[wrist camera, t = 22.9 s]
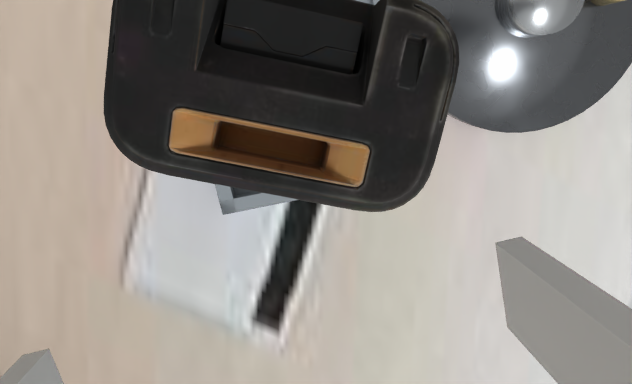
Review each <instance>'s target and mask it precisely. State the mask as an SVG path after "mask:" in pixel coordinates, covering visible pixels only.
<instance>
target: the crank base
mask: <svg viewBox="0 0 632 384" xmlns="http://www.w3.org/2000/svg"><path fill="white" fill-rule="evenodd" d="M419 1H422V2H424V3H426V4H428V5H430V6H432V7H434V8H435V9H436V10H437V11H439V12H440V13H441V14H442V15H443V16H444V17H445V19H446V20H447V21H448V22H449V23H450V25H451V27H452V29H453V31H454V33H455V35H456V38H457V42H458V45H459V67H458V73H457V78H456V83H455V87H454V91H453V95H452V98H451V102H450V106H449V110H448V113H447V114H448V115H450V116H452V117H453V118H455V119H457V120H459V121H462V122H464V123H466V124H469V125H472V126H476V127H480V128H483V129H487V130H491V131H499V132H529V131H536V130H541V129H544V128H548V127H552V126H555V125H557V124H560V123H562V122H565V121H567V120H569V119H571V118H573V117H575V116H576V115H578V114H580V113H582V112H584V111H585V110H586V109H588V108H589V107H591V106H592V105H593V104H595V103H596V102H597V101H598V100H600V99H601V98H602V97H603V96H604V95H605V94H606V93H607V92H608V91H610V89H611V88H612V87H613V86H614V85H615V84H616V83H617V82H618V80H619V79H620V78H621V77H622V76H623V74H624V73H625V71H626V70H627V69H628V67H629V66H630V64H631V63H632V0H585V1H584V4H583V7H582V9H581V11H580V13H579V15H578V16H577V17H576V19H575V20H574V21H573V22H572V23H571V24H570V25H569V26H567V27H566V28H564V29H563V30H561V31H558V32H556V33H552V34H547V35H542V36H536V37H531V38H522V37H517V36H515V35H512V34H511V33H509V32H508V31H507V30H506V29H505V28H504V27H503V26H502V24H501V23H500V21H499V18H498V15H497V10H496V1H497V0H419Z"/></svg>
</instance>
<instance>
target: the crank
mask: <svg viewBox="0 0 632 384" xmlns="http://www.w3.org/2000/svg"><path fill="white" fill-rule="evenodd" d="M584 1H585V0H497V1H496V10H497V15H498V18H499V21H500V23H501V24H502V26H503V27H504V28H505V29H506V30H507V31H508V32H509V33H511V34H512V35H515V36H517V37H522V38H531V37H536V36H542V35H547V34H552V33H556V32H558V31H561V30H563V29H564V28H566V27H567V26H569V25H570V24H571V23H572V22H573V21H574V20H575V19H576V17H577V16H578V15H579V13H580V11H581V9H582V7H583V4H584Z"/></svg>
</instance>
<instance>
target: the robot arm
mask: <svg viewBox="0 0 632 384" xmlns="http://www.w3.org/2000/svg"><path fill="white" fill-rule="evenodd" d="M496 251H497V258H498V265H499V272H500V279H501V286H502V293H503V300H504V307H505V314H506V321H507V327H508V328H509V329H510V331H511V332H512V333H513V334H514V335H515V336H516V337H517V338H518V340H519V341H520V342H521V343H522V344H523V345H524V346H525V347H526V348H527V350H528V351H529V352H530V353H531V354H532V355H533V356H534V357H535V358H536V360H537V361H538V362H539V363H540V364H541V365H542V366H543V367H544V369H545V370H546V371H547V372H548V373H549V374H550V375H551V376H552V377H553V379H554V380H555V381H556V382H557V383H558V384H632V309H631V308H629V307H628V306H626V305H625V304H623V303H622V302H620V301H619V300H617V299H616V298H614V297H613V296H611V295H610V294H608V293H607V292H605V291H603V290H602V289H600V288H599V287H597V286H596V285H594V284H593V283H591V282H590V281H588V280H587V279H585V278H584V277H582V276H581V275H579V274H578V273H576V272H575V271H573V270H572V269H570V268H568V267H567V266H565V265H564V264H562V263H561V262H559V261H558V260H556V259H555V258H553V257H552V256H550V255H549V254H547V253H546V252H544V251H543V250H541V249H540V248H538V247H536V246H535V245H533V244H532V243H530V242H529V241H527V240H526V239H524V238H523V237H518V238H514V239H509V240H505V241H501V242H497V243H496ZM0 384H64V383H63V381H62V378H61V376H60V374H59V371H58V369H57V367H56V364H55V362H54V359H53V357H52V355H51V352H50V350H49V349H46V350H42V351H38V352H33V353H29V354H25V355H22V356H21V357H20V358H19V359H18V360H17V361H16V363H15V364H14V365H13V366H12V367H11V368H10V369H9V370H8V371H7V372H6V373H5V374H4V375H3V376H2V377H1V378H0Z"/></svg>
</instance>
